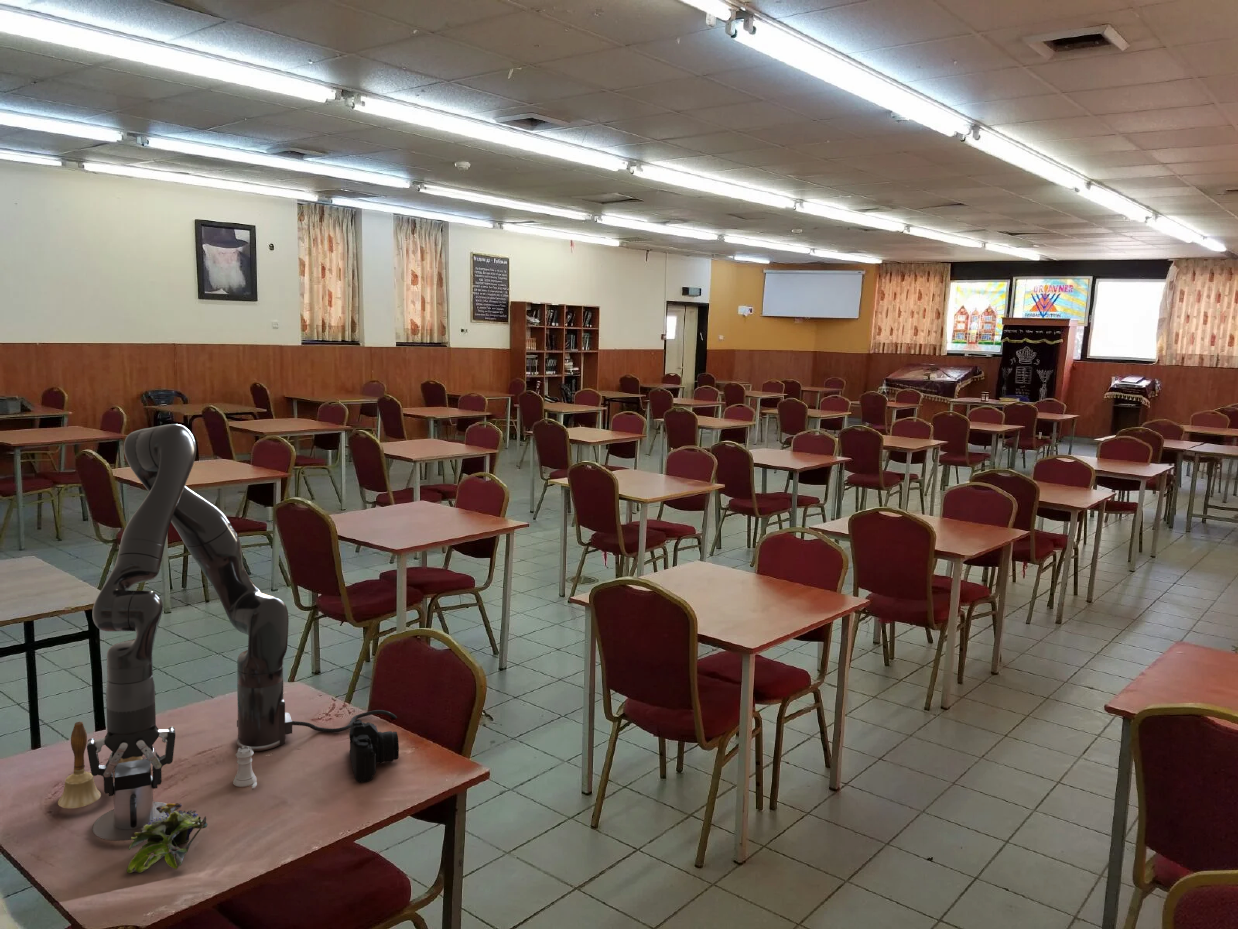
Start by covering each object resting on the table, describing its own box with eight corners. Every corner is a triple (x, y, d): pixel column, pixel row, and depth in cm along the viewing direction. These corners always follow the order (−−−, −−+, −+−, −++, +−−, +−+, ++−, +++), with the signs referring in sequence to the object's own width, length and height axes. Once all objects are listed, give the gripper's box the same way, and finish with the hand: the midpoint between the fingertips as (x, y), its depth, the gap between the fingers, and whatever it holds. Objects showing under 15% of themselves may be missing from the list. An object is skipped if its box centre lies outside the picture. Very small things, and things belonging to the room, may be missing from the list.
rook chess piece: (262, 784, 175) (262, 746, 174) (245, 795, 171) (245, 756, 169) (244, 780, 176) (243, 742, 175) (227, 790, 172) (226, 751, 171)
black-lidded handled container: (114, 815, 159) (113, 763, 158) (153, 808, 162) (152, 757, 161) (113, 840, 152) (111, 786, 150) (154, 833, 155) (152, 779, 153)
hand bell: (90, 788, 170) (87, 710, 168) (114, 801, 166) (112, 721, 164) (44, 806, 163) (40, 725, 161) (68, 821, 159) (65, 737, 157)
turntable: (173, 801, 167) (173, 795, 167) (176, 837, 156) (176, 830, 156) (94, 816, 161) (93, 810, 161) (90, 854, 150) (90, 847, 149)
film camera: (402, 778, 180) (403, 736, 179) (353, 785, 176) (353, 742, 175) (392, 745, 194) (393, 706, 193) (346, 751, 190) (346, 711, 189)
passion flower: (170, 879, 152) (207, 809, 157) (191, 898, 145) (229, 824, 149) (107, 861, 146) (148, 789, 151) (125, 881, 138) (167, 804, 143)
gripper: (81, 716, 148) (85, 809, 151) (177, 703, 155) (179, 792, 157) (84, 699, 155) (87, 788, 157) (176, 687, 162) (177, 773, 164)
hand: (133, 790), depth 157 cm, fingers closed on black-lidded handled container, 6 cm apart
